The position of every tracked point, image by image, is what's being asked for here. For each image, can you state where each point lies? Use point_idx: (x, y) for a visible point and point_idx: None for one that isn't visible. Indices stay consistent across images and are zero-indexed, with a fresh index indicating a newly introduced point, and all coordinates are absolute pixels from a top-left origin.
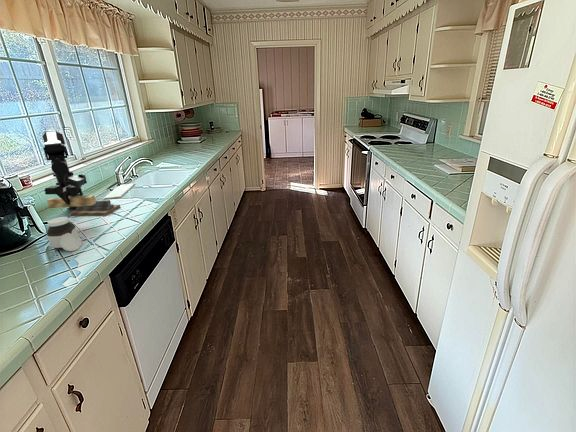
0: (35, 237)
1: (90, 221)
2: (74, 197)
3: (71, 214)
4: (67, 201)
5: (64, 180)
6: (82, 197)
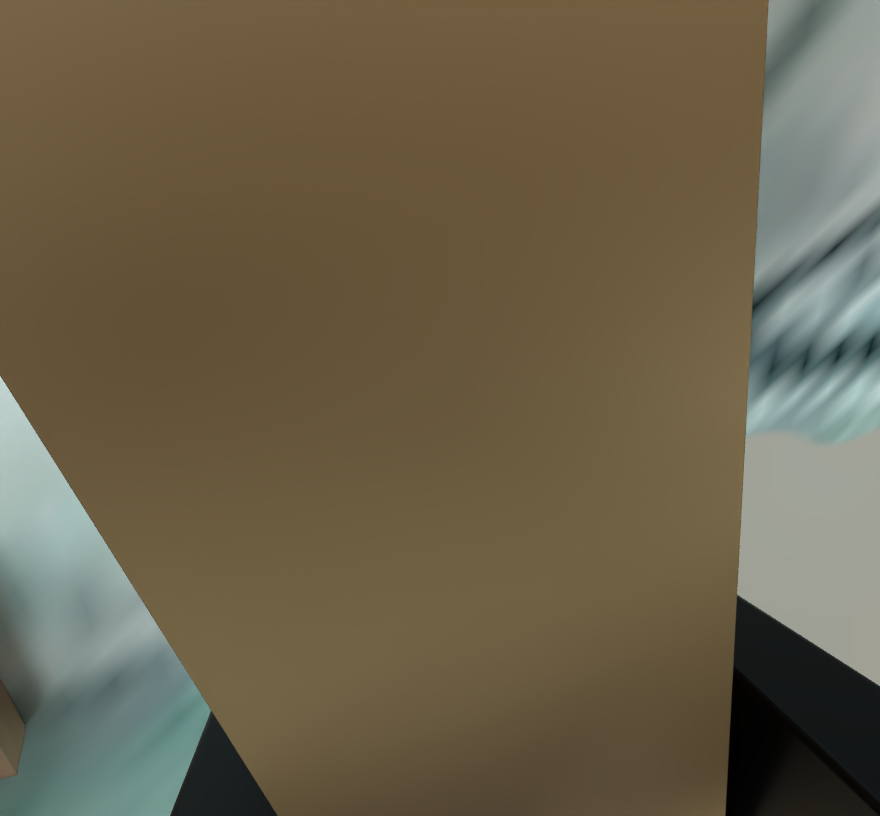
0: (876, 422)
1: None
2: (548, 701)
3: (17, 733)
4: (774, 647)
5: None
6: (638, 33)
